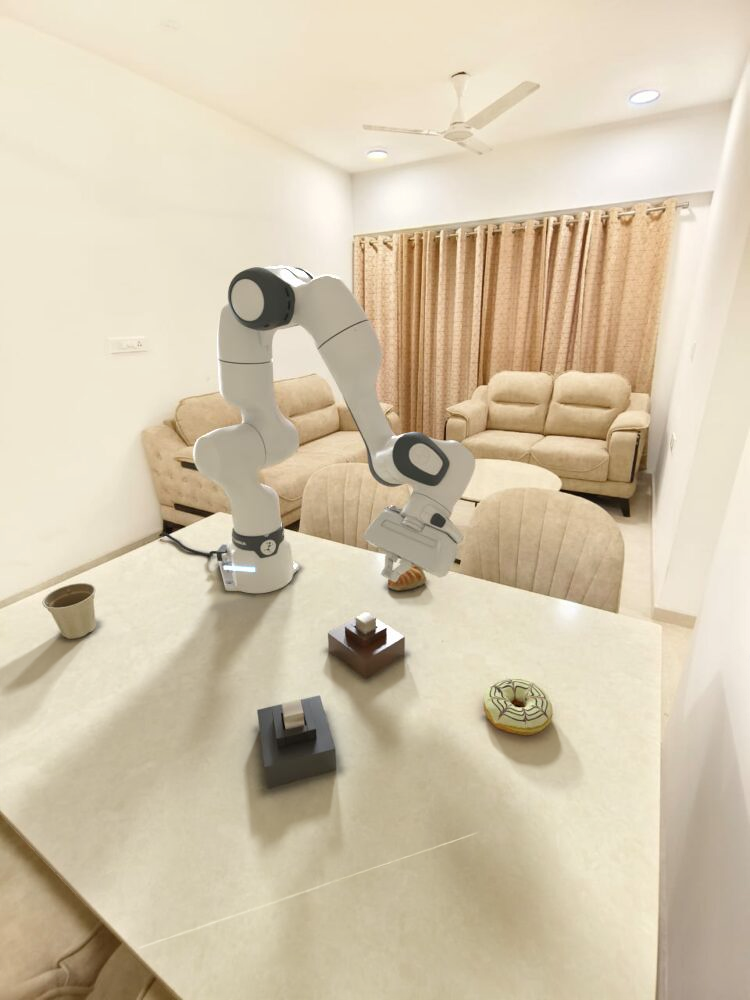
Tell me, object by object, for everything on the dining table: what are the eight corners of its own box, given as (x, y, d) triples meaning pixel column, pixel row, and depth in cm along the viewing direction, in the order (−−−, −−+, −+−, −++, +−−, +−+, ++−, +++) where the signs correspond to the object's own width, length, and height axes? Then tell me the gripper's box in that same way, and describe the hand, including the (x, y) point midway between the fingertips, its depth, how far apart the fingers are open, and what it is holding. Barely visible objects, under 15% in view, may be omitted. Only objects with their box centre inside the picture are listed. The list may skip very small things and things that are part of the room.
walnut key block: (328, 650, 98) (327, 625, 96) (366, 629, 104) (366, 604, 102) (365, 679, 90) (365, 652, 88) (404, 654, 96) (404, 628, 94)
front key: (282, 716, 75) (281, 703, 74) (301, 712, 76) (300, 699, 75) (285, 730, 73) (284, 717, 72) (304, 726, 73) (303, 712, 72)
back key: (355, 628, 95) (355, 617, 94) (366, 622, 97) (366, 611, 96) (365, 635, 93) (364, 623, 92) (376, 628, 95) (376, 617, 94)
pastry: (399, 596, 115) (399, 582, 114) (380, 585, 120) (380, 571, 119) (428, 583, 121) (428, 569, 119) (409, 572, 126) (409, 559, 124)
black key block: (259, 729, 80) (255, 700, 78) (321, 715, 83) (319, 686, 80) (267, 789, 70) (263, 757, 68) (336, 770, 73) (334, 739, 71)
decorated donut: (477, 691, 87) (478, 674, 86) (539, 691, 87) (541, 673, 86) (490, 740, 77) (491, 721, 76) (559, 739, 77) (562, 720, 76)
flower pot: (58, 651, 99) (47, 614, 95) (48, 629, 105) (38, 594, 102) (109, 631, 104) (100, 595, 101) (97, 612, 111) (88, 578, 108)
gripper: (379, 496, 103) (344, 553, 100) (457, 525, 89) (419, 593, 86) (394, 510, 107) (361, 565, 105) (471, 540, 93) (435, 605, 91)
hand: (388, 578), depth 95 cm, fingers closed
